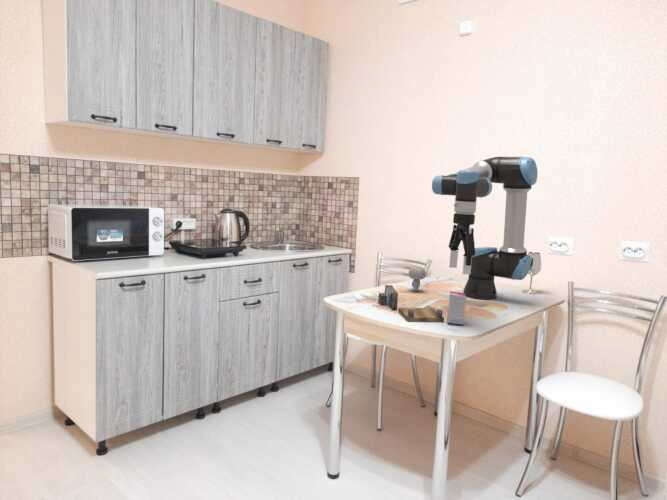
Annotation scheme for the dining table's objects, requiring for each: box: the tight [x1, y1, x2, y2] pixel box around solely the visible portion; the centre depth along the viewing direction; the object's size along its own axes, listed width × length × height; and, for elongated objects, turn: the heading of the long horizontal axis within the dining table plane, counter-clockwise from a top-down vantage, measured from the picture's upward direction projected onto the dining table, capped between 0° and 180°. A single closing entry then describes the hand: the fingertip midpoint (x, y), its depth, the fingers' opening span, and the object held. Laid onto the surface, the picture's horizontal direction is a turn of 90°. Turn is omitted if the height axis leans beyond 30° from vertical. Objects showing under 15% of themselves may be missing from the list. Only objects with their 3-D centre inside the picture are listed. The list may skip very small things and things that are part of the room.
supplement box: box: [446, 291, 467, 327], centre depth 188 cm, size 6×6×12 cm
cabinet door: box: [390, 291, 445, 323], centre depth 197 cm, size 16×18×7 cm
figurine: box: [408, 265, 426, 293], centre depth 240 cm, size 8×8×12 cm
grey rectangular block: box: [384, 284, 397, 308], centre depth 213 cm, size 14×3×6 cm, turn 3°
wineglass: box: [521, 251, 542, 295], centre depth 251 cm, size 8×8×20 cm
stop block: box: [377, 292, 388, 306], centre depth 212 cm, size 2×5×4 cm, turn 7°
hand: (459, 270), depth 186 cm, fingers open, 13 cm apart
